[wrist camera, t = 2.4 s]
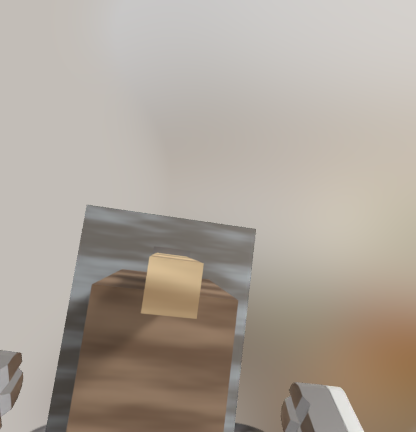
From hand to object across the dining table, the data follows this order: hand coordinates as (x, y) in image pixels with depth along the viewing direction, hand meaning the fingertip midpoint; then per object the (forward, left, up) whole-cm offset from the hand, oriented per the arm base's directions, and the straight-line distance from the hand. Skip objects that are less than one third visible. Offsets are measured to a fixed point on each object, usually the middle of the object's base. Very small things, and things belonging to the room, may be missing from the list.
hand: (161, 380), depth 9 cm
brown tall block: (+10, -22, -26) cm, 35 cm away
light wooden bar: (+6, -14, 0) cm, 15 cm away
